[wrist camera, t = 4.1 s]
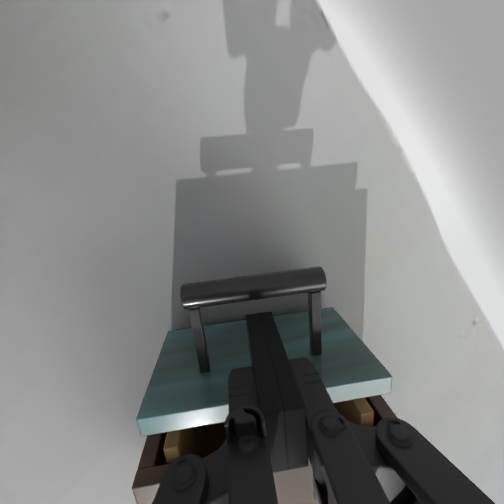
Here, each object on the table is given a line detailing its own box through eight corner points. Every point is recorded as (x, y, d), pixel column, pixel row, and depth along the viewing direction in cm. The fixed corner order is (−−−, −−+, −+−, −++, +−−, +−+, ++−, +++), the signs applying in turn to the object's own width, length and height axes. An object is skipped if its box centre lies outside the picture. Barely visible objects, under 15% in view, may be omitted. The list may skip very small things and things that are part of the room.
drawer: (153, 262, 19) (106, 318, 11) (332, 241, 20) (399, 278, 12) (194, 456, 24) (182, 581, 17) (333, 430, 25) (381, 537, 18)
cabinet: (169, 357, 22) (130, 488, 13) (335, 332, 23) (411, 435, 14) (196, 479, 26) (182, 645, 17) (335, 452, 27) (394, 594, 18)
